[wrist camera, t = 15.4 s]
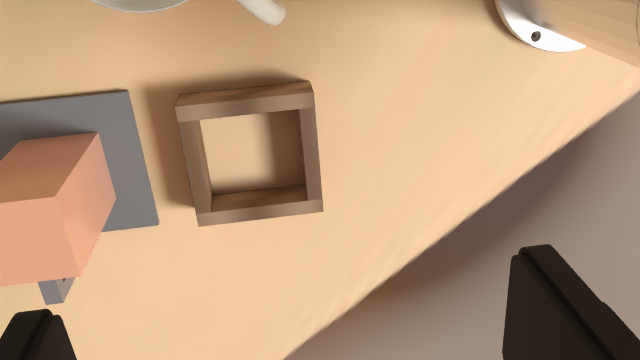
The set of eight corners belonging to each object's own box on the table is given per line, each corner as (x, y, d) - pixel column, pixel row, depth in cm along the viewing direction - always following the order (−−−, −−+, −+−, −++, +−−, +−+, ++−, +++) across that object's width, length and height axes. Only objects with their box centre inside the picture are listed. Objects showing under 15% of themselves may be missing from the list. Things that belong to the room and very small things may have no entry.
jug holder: (309, 81, 45) (313, 92, 42) (319, 195, 49) (323, 211, 46) (179, 94, 44) (174, 107, 41) (201, 209, 48) (198, 226, 46)
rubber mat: (127, 90, 43) (126, 91, 43) (159, 222, 49) (158, 225, 48) (-32, 106, 42) (-35, 108, 42) (18, 239, 48) (16, 242, 47)
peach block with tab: (98, 132, 44) (54, 196, 34) (124, 229, 48) (92, 311, 38) (20, 140, 43) (-47, 208, 34) (53, 237, 47) (2, 323, 38)
